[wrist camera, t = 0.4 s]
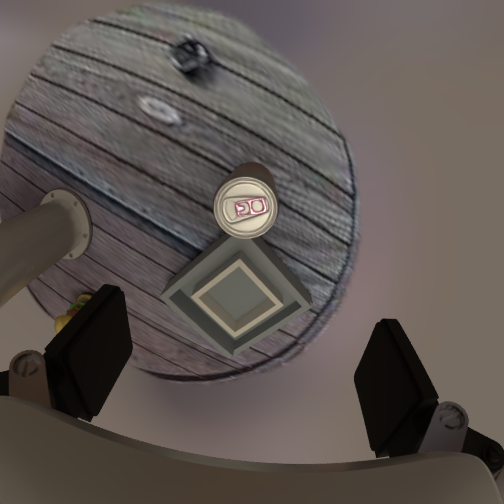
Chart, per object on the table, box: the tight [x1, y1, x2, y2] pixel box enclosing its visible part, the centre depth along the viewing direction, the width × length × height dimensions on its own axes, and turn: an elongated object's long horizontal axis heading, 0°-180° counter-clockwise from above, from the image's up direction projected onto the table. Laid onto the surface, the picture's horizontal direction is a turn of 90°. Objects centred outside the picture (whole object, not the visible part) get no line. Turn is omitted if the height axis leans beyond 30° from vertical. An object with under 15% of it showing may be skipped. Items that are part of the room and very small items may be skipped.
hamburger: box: [55, 294, 92, 334], centre depth 42 cm, size 8×7×12 cm
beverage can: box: [213, 162, 279, 239], centre depth 31 cm, size 6×6×15 cm
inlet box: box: [160, 233, 314, 359], centre depth 42 cm, size 16×16×5 cm
